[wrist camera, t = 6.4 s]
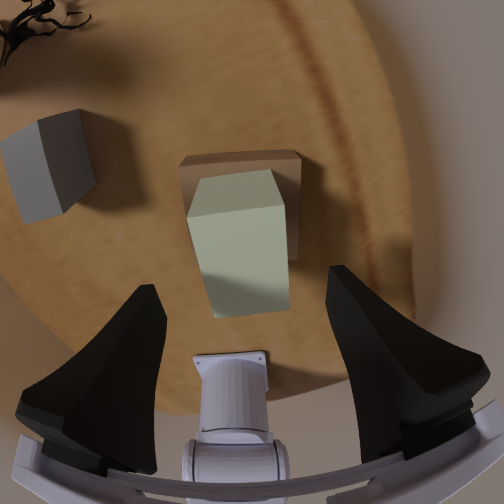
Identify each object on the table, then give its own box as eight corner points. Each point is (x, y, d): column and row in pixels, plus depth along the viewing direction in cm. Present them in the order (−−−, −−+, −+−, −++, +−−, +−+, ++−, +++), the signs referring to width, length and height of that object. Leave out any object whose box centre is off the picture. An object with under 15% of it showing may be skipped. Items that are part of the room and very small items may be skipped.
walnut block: (290, 237, 21) (297, 260, 19) (199, 243, 21) (195, 266, 18) (291, 148, 17) (301, 159, 15) (187, 155, 17) (178, 167, 15)
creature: (79, -36, 7) (4, 30, 7) (60, -65, 2) (-29, 18, 3) (119, 5, 11) (35, 79, 11) (102, -27, 6) (-4, 71, 7)
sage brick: (277, 255, 18) (289, 309, 14) (218, 262, 18) (214, 318, 14) (270, 169, 15) (284, 205, 11) (200, 178, 15) (186, 218, 11)
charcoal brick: (97, 184, 17) (63, 214, 13) (59, 194, 17) (24, 224, 13) (79, 108, 14) (37, 120, 10) (41, 126, 14) (-1, 143, 10)
